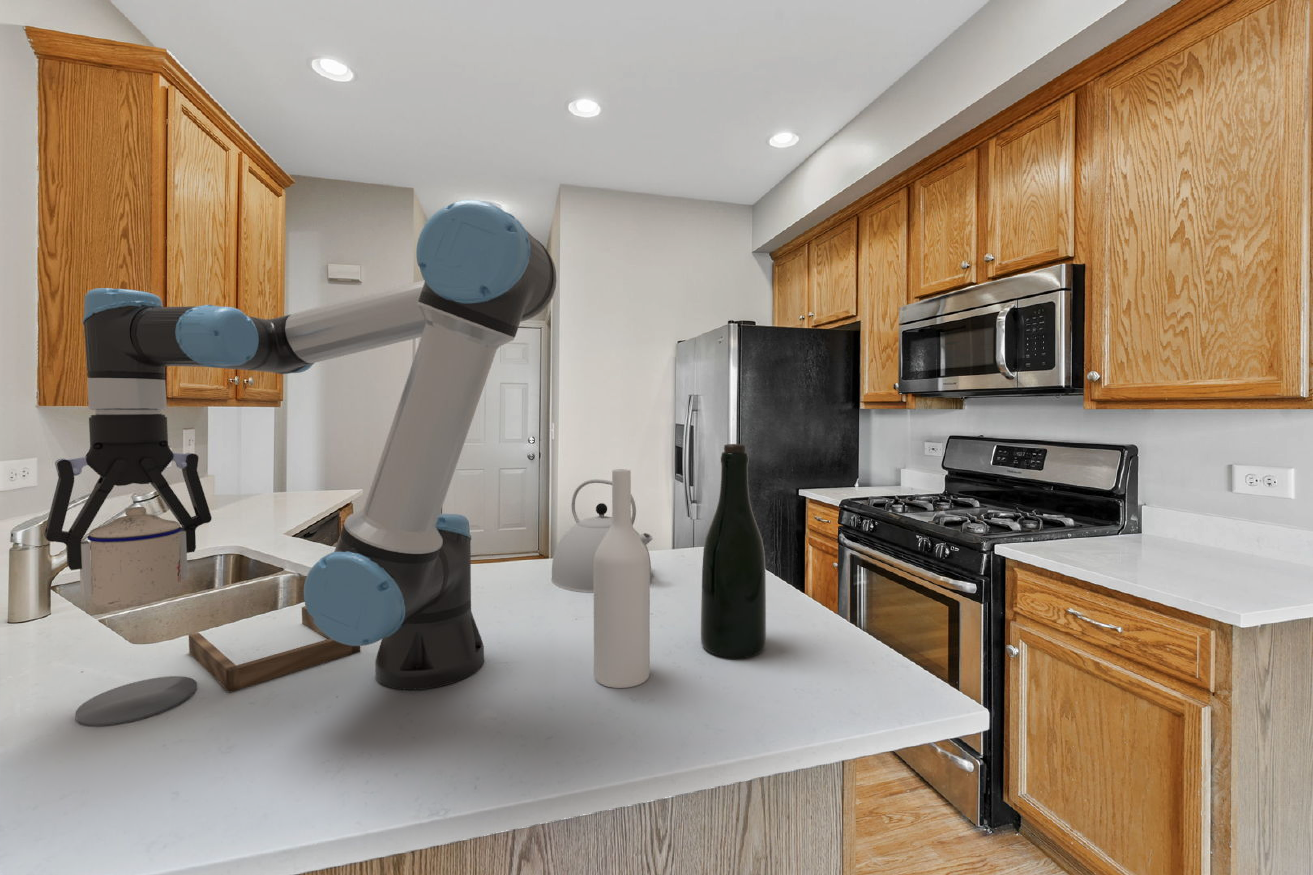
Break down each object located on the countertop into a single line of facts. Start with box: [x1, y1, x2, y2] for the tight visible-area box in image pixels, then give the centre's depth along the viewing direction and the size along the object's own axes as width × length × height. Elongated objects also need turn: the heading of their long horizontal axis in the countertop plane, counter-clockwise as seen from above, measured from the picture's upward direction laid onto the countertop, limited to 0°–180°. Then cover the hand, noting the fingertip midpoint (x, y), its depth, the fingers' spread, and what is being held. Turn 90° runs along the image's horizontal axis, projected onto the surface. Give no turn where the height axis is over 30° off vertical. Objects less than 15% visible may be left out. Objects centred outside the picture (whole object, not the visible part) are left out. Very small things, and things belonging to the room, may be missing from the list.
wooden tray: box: [188, 606, 361, 693], centre depth 93 cm, size 20×17×3 cm
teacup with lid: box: [87, 506, 182, 608], centre depth 76 cm, size 12×9×12 cm
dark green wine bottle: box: [700, 443, 767, 659], centre depth 94 cm, size 10×10×33 cm
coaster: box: [74, 675, 198, 727], centre depth 77 cm, size 12×12×1 cm
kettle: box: [550, 479, 654, 594], centre depth 133 cm, size 25×23×22 cm
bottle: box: [593, 468, 651, 689], centre depth 84 cm, size 8×8×30 cm
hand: (136, 584), depth 77 cm, fingers closed on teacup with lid, 9 cm apart
